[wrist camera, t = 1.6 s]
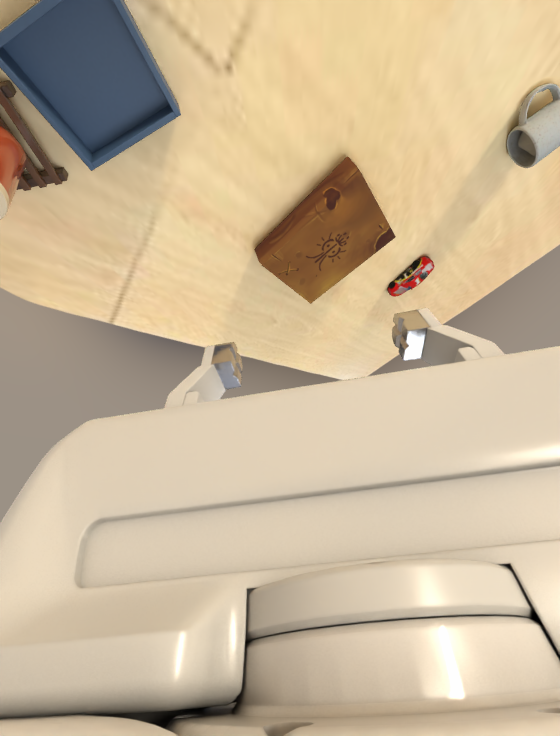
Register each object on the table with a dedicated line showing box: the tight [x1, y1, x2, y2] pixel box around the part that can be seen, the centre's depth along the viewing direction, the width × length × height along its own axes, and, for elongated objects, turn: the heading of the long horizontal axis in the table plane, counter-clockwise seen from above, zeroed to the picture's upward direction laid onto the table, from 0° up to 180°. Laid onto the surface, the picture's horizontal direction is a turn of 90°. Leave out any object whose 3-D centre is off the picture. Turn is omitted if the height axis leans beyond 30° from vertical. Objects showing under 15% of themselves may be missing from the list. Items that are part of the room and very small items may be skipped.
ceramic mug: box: [507, 84, 560, 168], centre depth 51 cm, size 11×8×8 cm
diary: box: [255, 157, 395, 303], centre depth 60 cm, size 23×19×6 cm
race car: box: [388, 257, 434, 296], centre depth 79 cm, size 13×5×4 cm, turn 140°
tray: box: [0, 0, 181, 171], centre depth 34 cm, size 14×12×4 cm
